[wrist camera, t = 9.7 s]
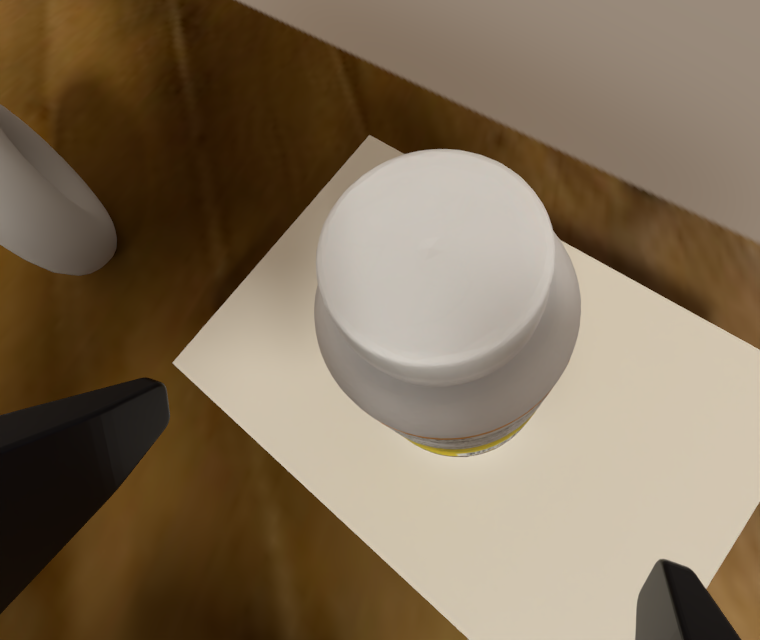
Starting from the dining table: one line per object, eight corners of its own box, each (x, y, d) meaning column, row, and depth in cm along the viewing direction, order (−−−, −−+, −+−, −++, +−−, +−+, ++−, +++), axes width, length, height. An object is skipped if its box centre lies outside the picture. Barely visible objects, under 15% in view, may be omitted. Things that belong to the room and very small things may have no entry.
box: (572, 699, 17) (600, 761, 13) (223, 384, 24) (172, 362, 20) (756, 409, 19) (829, 388, 15) (386, 190, 26) (369, 134, 22)
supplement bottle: (414, 285, 19) (351, 79, 9) (559, 335, 17) (660, 145, 8) (354, 421, 18) (211, 341, 8) (504, 487, 16) (545, 484, 7)
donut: (161, 275, 27) (-9, 160, 17) (109, 315, 26) (-91, 221, 17) (89, 166, 30) (-83, 23, 21) (43, 201, 30) (-151, 72, 21)
